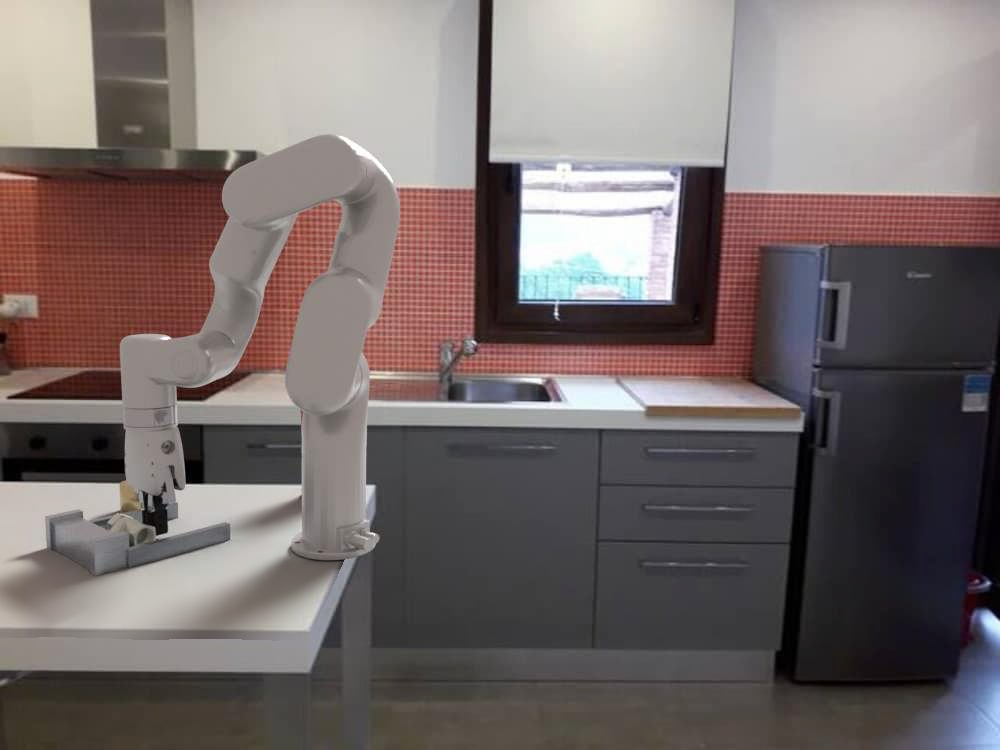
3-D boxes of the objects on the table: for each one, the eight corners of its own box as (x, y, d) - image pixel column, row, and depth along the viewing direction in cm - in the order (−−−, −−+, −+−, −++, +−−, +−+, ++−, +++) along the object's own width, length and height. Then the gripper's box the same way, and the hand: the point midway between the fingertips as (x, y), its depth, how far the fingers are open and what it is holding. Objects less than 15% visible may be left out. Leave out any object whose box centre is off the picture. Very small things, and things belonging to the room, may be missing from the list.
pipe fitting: (113, 561, 117) (157, 545, 122) (110, 535, 116) (154, 521, 122) (86, 547, 122) (130, 533, 127) (83, 523, 121) (127, 509, 126)
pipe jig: (230, 539, 126) (229, 509, 125) (97, 576, 110) (95, 542, 110) (174, 515, 136) (173, 488, 136) (45, 546, 121) (43, 515, 120)
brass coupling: (158, 511, 139) (157, 482, 138) (129, 517, 135) (128, 488, 134) (143, 504, 142) (142, 477, 141) (115, 511, 138) (113, 482, 137)
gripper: (200, 420, 120) (204, 539, 123) (149, 407, 130) (154, 518, 133) (151, 427, 115) (156, 552, 117) (102, 413, 124) (108, 529, 127)
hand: (155, 533), depth 125 cm, fingers closed
